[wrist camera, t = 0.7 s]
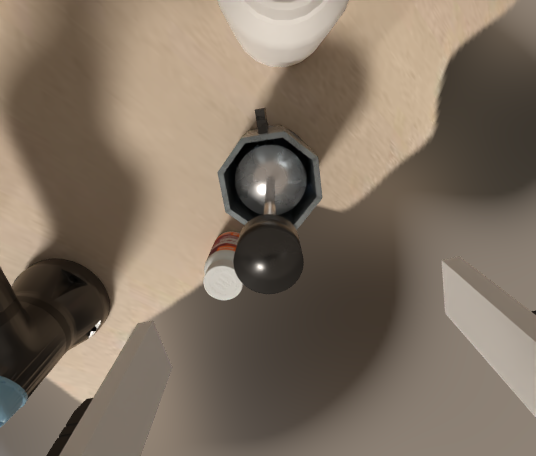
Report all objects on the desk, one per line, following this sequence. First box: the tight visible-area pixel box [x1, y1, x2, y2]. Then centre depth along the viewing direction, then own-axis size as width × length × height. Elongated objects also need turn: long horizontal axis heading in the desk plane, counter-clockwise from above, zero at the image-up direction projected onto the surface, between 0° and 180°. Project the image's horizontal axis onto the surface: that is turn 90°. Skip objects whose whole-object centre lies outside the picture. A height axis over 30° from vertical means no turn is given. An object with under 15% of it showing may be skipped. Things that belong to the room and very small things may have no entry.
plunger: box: [233, 145, 306, 294], centre depth 30 cm, size 8×8×23 cm
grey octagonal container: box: [218, 108, 322, 229], centre depth 44 cm, size 12×14×12 cm
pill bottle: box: [204, 231, 243, 300], centre depth 49 cm, size 6×6×11 cm
